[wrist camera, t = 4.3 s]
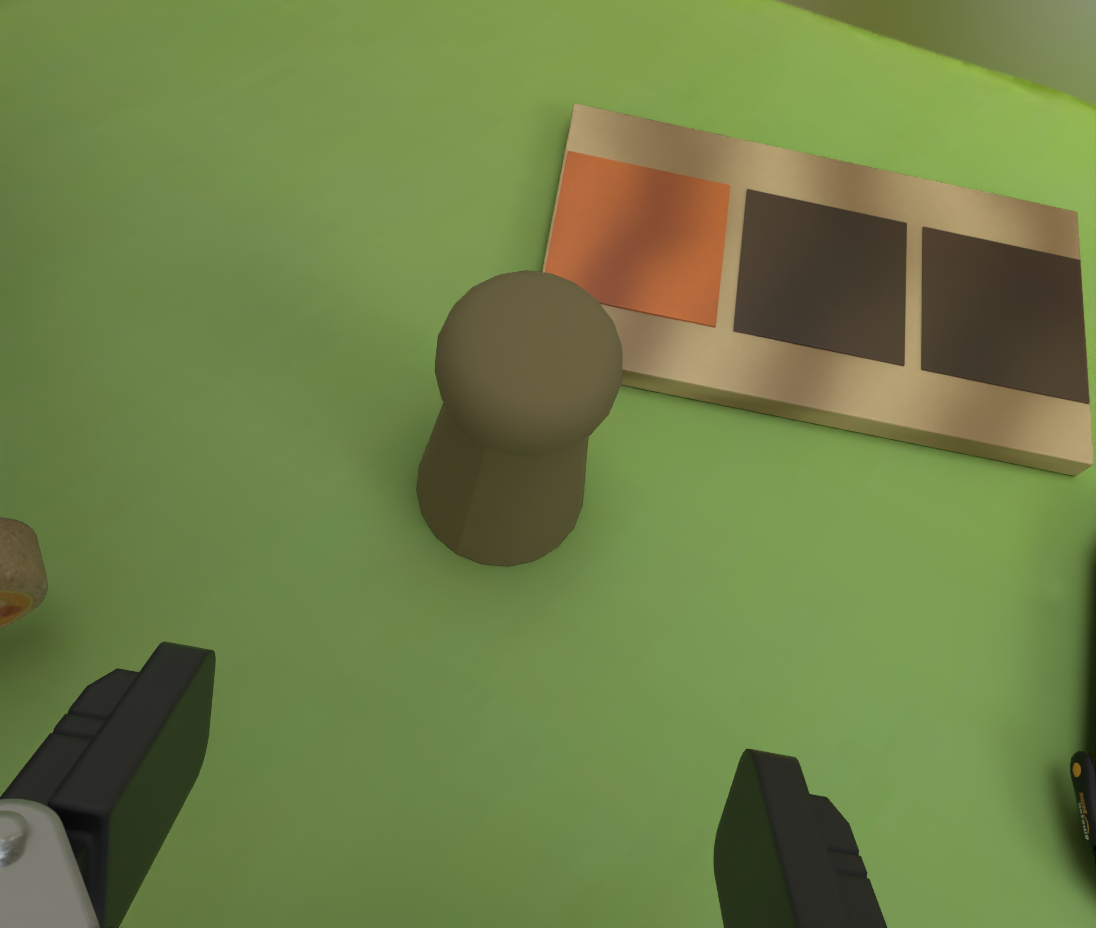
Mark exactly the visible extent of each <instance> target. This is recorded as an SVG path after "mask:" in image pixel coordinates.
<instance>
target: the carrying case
mask: <svg viewBox="0 0 1096 928" xmlns="http://www.w3.org/2000/svg"><path fill="white" fill-rule="evenodd" d="M1070 772H1071V778H1072V782H1073V786H1074V790H1075V795H1076V799H1077V803H1078V808H1079V812H1080V817H1081V821H1082V827H1083V834H1084V840H1085V842H1086V843H1087V844H1088V845H1091V846H1092V848H1093V854H1094V858H1095V861H1096V761H1095V766H1094V763H1093V761H1092V759H1091V757H1090V755H1088V754H1087V753H1086V752H1085V751H1078V752H1076V753H1075V754H1074V755H1073V756H1072V758H1071V764H1070Z"/></svg>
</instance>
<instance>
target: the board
mask: <svg viewBox="0 0 1096 928" xmlns="http://www.w3.org/2000/svg"><path fill="white" fill-rule="evenodd" d="M542 272H545V273H552V274H554V275H557V276H560V277H562V278H565V279H567V280H570V281H572V282H575V283H576V284H577V285H578V286H580V287H581V288H582V289H584V290H585V291H586V292H588V293H589V294H590V295H592V296H593V297H594V298H595V299H597V300H598V301H599V303H600V304H601V305H602V307H603V308H604V309H605V311H606V312H607V313H608V315H609V316H610V318H611V319H612V320H613V322H614V324H615V327H616V330H617V333H618V336H619V339H620V342H621V345H622V354H623V363H622V383H621V385H625V386H630V387H635V388H640V389H645V390H650V391H655V392H660V393H665V394H670V395H675V396H680V397H685V398H690V399H695V400H700V401H705V402H710V403H715V404H720V405H725V406H730V407H735V408H740V409H745V410H750V411H755V412H760V413H765V414H770V415H775V416H779V417H784V418H789V419H794V420H799V421H804V422H809V423H814V424H819V425H824V426H829V427H834V428H839V429H844V430H849V431H854V432H859V433H864V434H869V435H874V436H879V437H884V438H889V439H894V440H899V441H904V442H909V443H914V444H919V445H924V446H929V447H934V448H939V449H944V450H949V451H953V452H958V453H963V454H968V455H973V456H978V457H983V458H988V459H993V460H998V461H1003V462H1008V463H1013V464H1018V465H1023V466H1028V467H1033V468H1038V469H1043V470H1048V471H1053V472H1058V473H1063V474H1068V475H1073V476H1076V475H1078V474H1080V473H1081V472H1083V471H1084V470H1086V469H1088V468H1089V467H1091V466H1092V465H1094V459H1093V444H1092V428H1091V413H1090V398H1089V383H1088V368H1087V352H1086V337H1085V322H1084V307H1083V292H1082V276H1081V261H1080V246H1079V231H1078V216H1077V212H1076V211H1071V210H1066V209H1062V208H1057V207H1052V206H1048V205H1043V204H1039V203H1034V202H1029V201H1025V200H1020V199H1015V198H1011V197H1006V196H1002V195H997V194H992V193H988V192H983V191H978V190H974V189H969V188H964V187H960V186H955V185H951V184H946V183H941V182H937V181H932V180H927V179H923V178H918V177H913V176H909V175H904V174H900V173H895V172H890V171H886V170H881V169H876V168H872V167H867V166H863V165H858V164H853V163H849V162H844V161H839V160H835V159H830V158H825V157H821V156H816V155H812V154H807V153H802V152H798V151H793V150H788V149H784V148H779V147H775V146H770V145H765V144H761V143H756V142H751V141H747V140H742V139H737V138H733V137H728V136H724V135H719V134H714V133H710V132H705V131H700V130H696V129H691V128H687V127H682V126H677V125H673V124H668V123H663V122H659V121H654V120H649V119H645V118H640V117H636V116H631V115H626V114H622V113H617V112H612V111H608V110H603V109H599V108H594V107H589V106H585V105H580V104H574V106H573V111H572V116H571V120H570V125H569V131H568V136H567V141H566V147H565V152H564V157H563V162H562V168H561V173H560V178H559V183H558V189H557V194H556V199H555V204H554V210H553V215H552V220H551V225H550V231H549V236H548V241H547V246H546V252H545V257H544V262H543V268H542Z"/></svg>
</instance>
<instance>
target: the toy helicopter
mask: <svg viewBox="0 0 1096 928" xmlns="http://www.w3.org/2000/svg"><path fill="white" fill-rule="evenodd" d="M47 590H48V583H47V578H46V572H45V568H44V564H43V560H42V555H41V551H40V547H39V543H38V539H37V535H36V533H35V532H34V531H33V529H32V528H31V527H29V526H28V525H27V524H25V523H23V522H20V521H17V520H14V519H9V518H0V629H1V628H3V627H5V626H7V625H9V624H12V623H13V622H15V621H17V620H19V619H21V618H23V617H24V616H26V615H27V614H29V613H30V612H31V611H33V610H34V609H35V608H37V607H38V606H39V605H40V604H41V602H42V601H43V600H44V598H45V596H46V594H47Z"/></svg>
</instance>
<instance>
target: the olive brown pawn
mask: <svg viewBox="0 0 1096 928" xmlns="http://www.w3.org/2000/svg"><path fill="white" fill-rule="evenodd" d="M622 363H623V354H622V345H621V342H620V339H619V336H618V333H617V330H616V327H615V324H614V322H613V320H612V319H611V318H610V316H609V315H608V313H607V312H606V311H605V309H604V308H603V307H602V305H601V304H600V303H599V301H598V300H597V299H595V298H594V297H593V296H592V295H590V294H589V293H588V292H586V291H585V290H584V289H582V288H581V287H580V286H578V285H577V284H576V283H575V282H572V281H570V280H567V279H565V278H562V277H560V276H557V275H554V274H552V273H545V272H536V271H527V270H526V271H519V272H513V273H507V274H501V275H497V276H495V277H493V278H491V279H489V280H486V281H484V282H482V283H480V284H478V285H476V286H474V287H472V288H471V289H470V290H469V291H468V292H467V293H466V294H465V295H464V296H463V297H462V298H461V299H460V300H459V301H458V302H457V303H456V304H455V305H454V306H453V308H452V310H451V311H450V313H449V315H448V317H447V319H446V321H445V323H444V325H443V327H442V329H441V331H440V333H439V335H438V340H437V350H436V360H435V374H436V378H437V382H438V386H439V390H440V394H441V398H442V400H443V402H444V403H443V405H442V408H441V411H440V413H439V416H438V418H437V421H436V424H435V426H434V429H433V431H432V434H431V436H430V439H429V442H428V444H427V447H426V449H425V452H424V454H423V457H422V460H421V462H420V465H419V471H418V480H417V490H416V491H417V495H418V499H419V503H420V507H421V512H422V515H423V517H424V518H425V520H426V522H427V523H428V525H429V526H430V528H431V529H432V531H433V533H434V534H435V536H436V537H437V538H438V539H439V540H441V541H442V542H443V543H444V544H445V545H447V546H448V547H449V548H450V549H452V550H453V551H454V552H455V553H456V554H458V555H461V556H463V557H466V558H468V559H471V560H473V561H476V562H478V563H481V564H488V565H500V566H512V565H517V564H521V563H526V562H530V561H535V560H536V559H538V558H540V557H542V556H543V555H545V554H547V553H548V552H550V551H552V550H553V549H555V548H557V547H558V546H559V545H560V543H561V542H562V541H563V540H564V539H565V538H566V536H567V535H568V534H569V533H570V532H571V531H572V529H573V528H574V526H575V523H576V521H577V518H578V516H579V513H580V511H581V508H582V505H583V494H584V482H585V470H586V459H587V447H588V436H589V435H591V434H592V433H593V431H594V430H595V429H596V428H597V427H598V426H599V425H600V424H601V422H602V421H603V420H604V419H605V418H606V417H607V416H608V414H609V412H610V410H611V408H612V406H613V403H614V401H615V398H616V396H617V393H618V391H619V388H620V386H621V383H622Z"/></svg>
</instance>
